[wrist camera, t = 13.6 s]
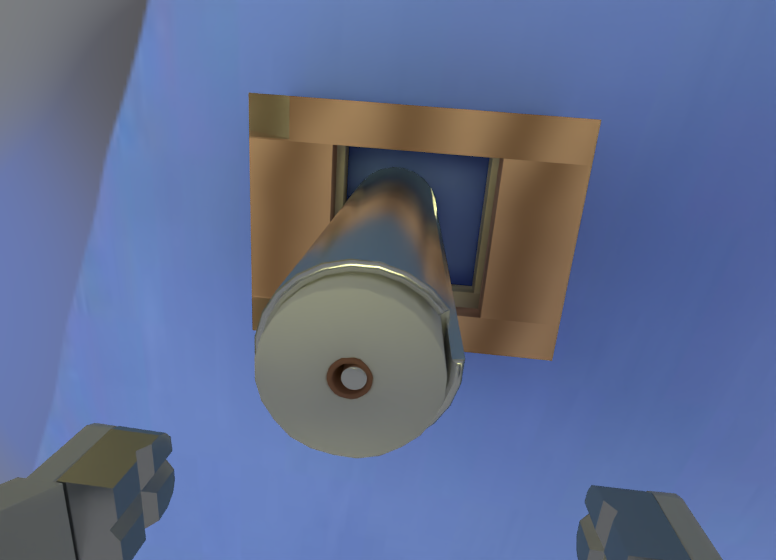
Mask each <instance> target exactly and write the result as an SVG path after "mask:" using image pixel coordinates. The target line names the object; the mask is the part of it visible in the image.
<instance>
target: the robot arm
mask: <svg viewBox="0 0 776 560" xmlns="http://www.w3.org/2000/svg"><path fill="white" fill-rule="evenodd" d="M171 452H172V444H171V437H170V436H169V435H168V434H166V433H163V432H156V431H150V430H143V429H136V428H129V427H122V426H113V425H106V424H99V423H93V424H90V425H86V426H85V427H84V428H83V429H82V430H81V431H80V432H78V433H77V434H76V435H75V436H74V437H73V438H72V439H70V440H69V441H68V442H67V443H66V444H65V445H64V446H62V447H61V448H60V449H59V450H58V451H57V452H56V453H54V454H53V455H52V456H51V457H50V458H49V459H48V460H46V461H45V462H44V463H43V464H42V465H41V466H40V467H38V468H37V469H36V470H35V471H34V472H33V473H32V474H30V475H29V476H28V477H27V478H19V477H17V478H15V479H13V480H10V481H8V482H5V483H3V484H0V560H132V559H133V558H134V556H135V555H136V553H137V552H138V550H139V549H140V548H141V546H142V545H143V543H144V542H145V540H146V536H145V528H147V527H149V526H150V525H152V524H154V523H155V522H157V521H159V520H160V518H161V517H162V515H163V514H164V512H165V511H166V509H167V507H168V505H169V502H170V499H171V497H172V494H173V490H174V482H175V476H174V469H173V468H172V466H171V465H170V464H169V463H168V461H167V460H166V458H167V457H168V456H169V455H170V453H171ZM585 505H586V507H587V510H588V512H589V514H588V515H587V516H585V517H584V518H583V519H581V520H580V522H579V526H578V531H577V538H576V551H577V557H578V560H723V559H722V558H721V556H720V555H719V553H718V552H717V550H716V549H715V547H714V546H713V544H712V543H711V541H710V540H709V538H708V537H707V535H706V534H705V532H704V531H703V529H702V528H701V526H700V525H699V523H698V522H697V520H696V519H695V517H694V516H693V514H692V513H691V511H690V510H689V508H688V507H687V505H686V504H685V502H684V501H683V499H682V498H681V497H680V496H678V495H677V494H675V493H665V492H655V491H646V492H645V491H638V490H630V489H621V488H613V487H604V486H595V485H591V487H590V488H589V490H588V491H587V495H586V498H585Z"/></svg>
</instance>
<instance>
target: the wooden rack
mask: <svg viewBox="0 0 776 560" xmlns="http://www.w3.org/2000/svg"><path fill="white" fill-rule="evenodd" d="M600 124H601V120H596V119H583V118H570V117H557V116H544V115H531V114H518V113H505V112H492V111H479V110H466V109H453V108H440V107H427V106H414V105H401V104H388V103H375V102H362V101H349V100H336V99H323V98H310V97H297V96H284V95H271V94H258V93H249V146H250V205H251V264H252V323H253V330H257V327H258V324H259V320H260V317H261V313H262V311H263V310H264V308H265V307H266V305H267V304H268V302H269V301H270V299H271V298H272V296H273V295H274V293H275V292H276V290H277V289H278V288H279V286H280V285H281V284H282V283H283V281H284V280H285V279H286V277H287V276H288V275H289V274H290V272H291V271H292V270H293V269H294V267H295V266H296V265H297V264H298V262H299V261H300V260H301V259H302V257H303V256H304V255H305V253H306V252H307V251H308V250H309V248H310V247H311V246H312V245H313V243H314V242H315V241H316V240H317V238H318V237H319V236H320V234H321V233H322V232H323V231H324V229H325V228H326V227H327V226H328V224H329V223H330V222H331V221H332V219H333V218H334V217H335V215H336V214H337V213H338V212H339V210H340V209H341V208H342V207H343V205H344V204H345V203H346V199H347V177H348V156H349V146H355V147H368V148H380V149H392V150H404V151H417V152H429V153H441V154H453V155H465V156H478V157H490V159H489V166H488V174H487V181H486V188H485V195H484V203H483V210H482V217H481V225H480V232H479V239H478V246H477V254H476V261H475V268H474V275H473V283H472V286H465V285H455V284H451V286H452V291H453V297H454V302H455V307H456V312H457V317H458V323H459V328H460V333H461V338H462V344H463V349H464V352H472V353H482V354H492V355H501V356H511V357H521V358H531V359H541V360H550V361H552V358H553V353H554V349H555V344H556V339H557V334H558V329H559V324H560V319H561V314H562V309H563V305H564V300H565V295H566V290H567V285H568V280H569V275H570V270H571V265H572V260H573V256H574V251H575V246H576V241H577V236H578V231H579V226H580V221H581V216H582V212H583V207H584V202H585V197H586V192H587V187H588V182H589V177H590V172H591V168H592V163H593V158H594V153H595V148H596V143H597V138H598V133H599V128H600Z"/></svg>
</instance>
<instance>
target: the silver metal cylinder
mask: <svg viewBox="0 0 776 560" xmlns="http://www.w3.org/2000/svg"><path fill="white" fill-rule="evenodd" d="M464 363H465V354H464V349H463V344H462V338H461V333H460V328H459V323H458V317H457V312H456V307H455V302H454V297H453V291H452V286H451V281H450V276H449V270H448V265H447V260H446V255H445V249H444V244H443V239H442V234H441V229H440V223H439V218H438V213H437V207H436V200H435V196H434V194H433V192H432V189H431V187H430V186H429V185H428V184H427V182H426V181H425V180H424V179H423V178H422V177H421V176H419V175H418V174H416V173H415V172H413V171H410V170H408V169H405V168H398V167H389V168H384V169H380V170H378V171H376V172H374V173H372V174H370V175H369V176H368V177H367V178H366V179H364V180H363V181H362V183H361V184H360V185H359V186H358V188H357V189H356V190H355V191H354V193H353V194H352V195H351V196H350V198H349V199H348V200H347V202H346V203H345V204H344V205H343V207H342V208H341V209H340V210H339V212H338V213H337V214H336V215H335V217H334V218H333V219H332V221H331V222H330V223H329V224H328V226H327V227H326V228H325V229H324V231H323V232H322V233H321V234H320V236H319V237H318V238H317V240H316V241H315V242H314V243H313V245H312V246H311V247H310V248H309V250H308V251H307V252H306V253H305V255H304V256H303V257H302V259H301V260H300V261H299V262H298V264H297V265H296V266H295V267H294V269H293V270H292V271H291V272H290V274H289V275H288V276H287V277H286V279H285V280H284V281H283V283H282V284H281V285H280V286H279V288H278V289H277V290H276V292H275V293H274V295H273V296H272V298H271V299H270V301H269V302H268V304H267V305H266V307H265V308H264V310H263V311H262V313H261V317H260V320H259V324H258V327H257V330H256V334H255V381H256V385H257V388H258V391H259V394H260V398H261V401H262V402H263V404H264V405H265V407H266V408H267V410H268V411H269V413H270V414H271V416H272V417H273V419H274V420H275V421H276V422H277V423H278V424H279V425H280V426H281V427H282V429H283V430H284V431H285V432H286V433H287V434H288V435H289V436H290V437H292V438H293V439H295V440H297V441H299V442H301V443H303V444H304V445H306V446H308V447H310V448H312V449H316V450H319V451H322V452H326V453H329V454H333V455H339V456H345V457H352V458H364V457H372V456H380V455H383V454H385V453H388V452H390V451H393V450H395V449H397V448H400V447H402V446H404V445H405V444H407V443H409V442H410V441H412V440H414V439H415V438H417V437H418V436H420V435H421V434H422V433H423V432H424V431H425V429H427V428H428V427H430V426H431V425H433V424H434V423H435V422H436V421H437V420H438V419H439V418H440V417H441V415H442V414H443V413H444V412H445V411H446V410H447V409H448V408H449V406H450V405H451V403H452V401H453V399H454V397H455V395H456V393H457V391H458V389H459V387H460V385H461V382H462V375H463V369H464Z"/></svg>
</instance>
